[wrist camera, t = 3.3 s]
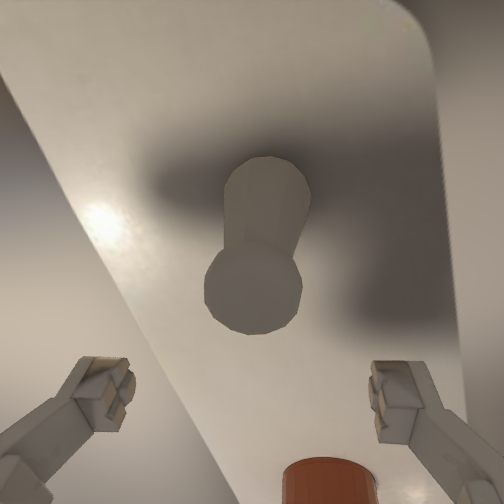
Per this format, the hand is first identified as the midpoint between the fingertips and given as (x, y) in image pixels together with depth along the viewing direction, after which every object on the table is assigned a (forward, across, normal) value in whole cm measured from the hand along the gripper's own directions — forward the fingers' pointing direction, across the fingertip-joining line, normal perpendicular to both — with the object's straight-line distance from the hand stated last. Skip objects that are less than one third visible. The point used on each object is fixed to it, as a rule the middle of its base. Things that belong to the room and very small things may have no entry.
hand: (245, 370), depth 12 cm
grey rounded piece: (+16, 0, 0) cm, 16 cm away
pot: (+16, -5, +43) cm, 46 cm away
